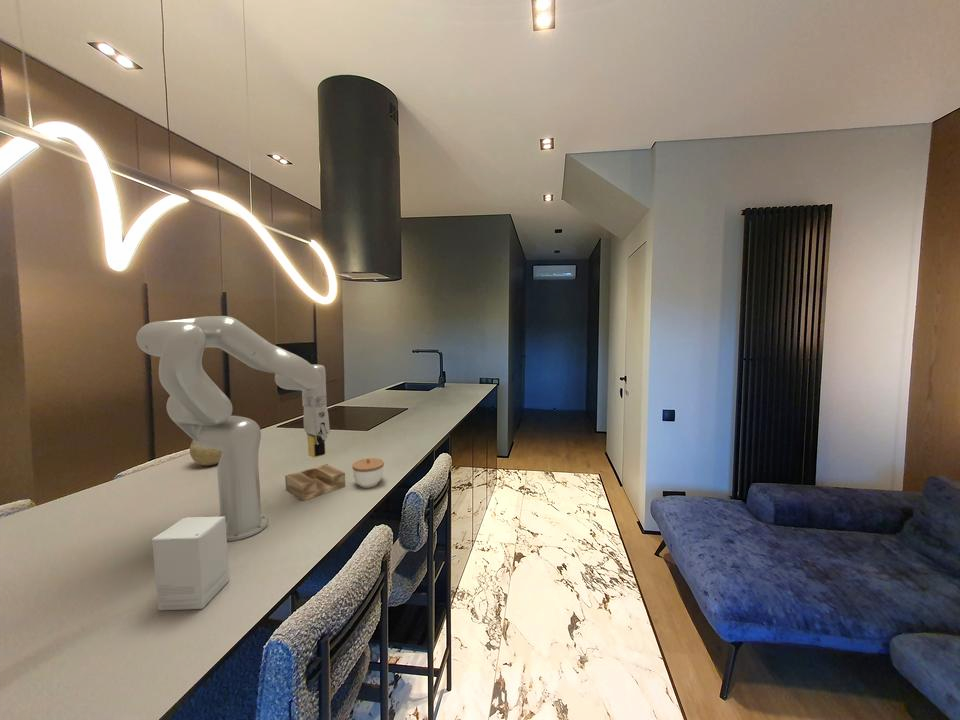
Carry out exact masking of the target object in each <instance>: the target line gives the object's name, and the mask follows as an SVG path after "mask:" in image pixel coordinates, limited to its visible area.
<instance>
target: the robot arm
mask: <svg viewBox="0 0 960 720" xmlns="http://www.w3.org/2000/svg"><path fill="white" fill-rule="evenodd" d="M135 338H136V339H135V341H136V343H137V346H138V348H139V349H140V350H142V351H143V352H144V353H145V354H147V355H149V356H152V357H159V363H158V364H159V365H158V378H159V379H158V380H159V382H160V384H161V386H162V387H163V389H164V390H165V391H166V393H168V395H169V397H168V399H167V402H166V412H167V414H168V416H169V418H170V420H171V421H172V422H173V423H175V424H176V426H177V427H179V428H180V429H181V430H182V431H183V432H184V433H185V434H187V436H189V437H190V438H191V439H192V441H193V440H194V441H196V442H197V443H198V444H200V445H201V446H203V447H206V448H210V449H216V450H220V451H222V455H221V458H220V461H219V462H218V463H217V472H216V473H217V485H218V487H217V489H218V501H219V515H218V516H216V517H223V516H225V523H226V538H227V542H231V541H239V540H242V539H246V538H249V537H252V536H254V535H256V534H259V532H262V531H263V530H264V529H265V528H266V527H267V526H268V523H269V521H268V520H269V519H268V517H267V516H266V515H264V514H262V503H261V502H262V501H261V488H260V485H261V484H260V467H259V450H260V444H261V438H262V431H261V427H260V425H259V424H258V423H257V421H255V420H253V419H251V418H249V417H246V416H245V417H244V416H241V415H232V413H233V404H232V402H231V399H230V398H229V397H228V396H227V395H226V394H225V392H224V391H222V390H221V388H219V386H218V385H217V384H216V383H215V382H214V381H213V380H212V378H210V376H208V374H207V372H206V371H205V370H204V367H203V363H202V362H203V361H202V360H203V354H204V351H205V349H206V348H209V349H210V348H214V349H215V348H218V349H220V350H222V351H224V352H225V353H227V354H228V355H230V356H231V357H233V358H236V359H237V360H238V361H240V362H241V363H243V364H245V365H246V366H248V367H250V368H251V369H255V370H257V371H261V372H265V373H269V374H270V373H271V374H274V382H275V384H276V385H277V386H278V387H279V388H280V389H283V390H287V391H289V390H290V391H301V399H302V400H301V401H302V407H303V430H304V432H305V433H306V435H307V437H308V435H314V436H315V442H316V444H315V456H319V457H321V456H320V455H323V456H325V455H326V440H327V438H328V434H330V432H331V429H330V419H329V411H328V406H327V402H328V401H327V400H328V399H327V380H326V379H327V376H326V374H327V373H326V368H325V365H323V364H311V363H310V362H309V361H308V360H306V359H304V358H303V357H301V356H299V355H297V354H295V353H292V352H291V351H288V350H286V349H284V348H282V347H280V346H277V345H275V344H272V343H271V342H269V341H268V340H266V339H265V338H264V337H262V336H261V335H260V334H258V332H255V331H254V330H253V329H251V328H250V327H248V326H247V325H246V324H245V323H243V322H241V321H240V320H238V319H237V318H234V317H233V316H228V315H227V316H226V315H218V316H217V315H213V316H212V315H211V316H210V315H207V316H198V317H191V318H190V317H189V318H180V319H172V320H160V321H153V322H148V323H147V324H145V325H143V326H141V328H139V330H138V331H137V333H136V337H135ZM318 433H321V434H318ZM320 436H321V437H320ZM318 437H320V438H319V439H318ZM324 454H325V455H324Z"/></svg>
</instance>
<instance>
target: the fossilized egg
mask: <svg viewBox="0 0 960 720" xmlns="http://www.w3.org/2000/svg"><path fill="white" fill-rule="evenodd" d="M189 454H190V457H191V459H192V460H193V462H195V463H196V464H198V465H201V466H206V467H207V466H209V467H210V466H214V465H217V464H219V461H220V458H221V455H222V451H220V450H216V449H210V448H206V447H203V446H201V445H200V444H198V443H197V442H196V441H194V440H193V439H192V440H191V443H190V446H189Z"/></svg>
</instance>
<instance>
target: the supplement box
mask: <svg viewBox="0 0 960 720" xmlns="http://www.w3.org/2000/svg"><path fill="white" fill-rule="evenodd" d="M151 544H152V554H153V565H154V575H155V590H156V599H157V611H176V610H177V611H178V610H181V611H182V610H202V609H204V608H205V607H206V606H207V605H208V603H210V602H211V601H212V600H213V598H215V596H216V595H217V594H218V593H219V592H220V591H222V589H223V588H224V587H225V585H227V584H228V582H229V581H230V571H229V570H230V569H229V556H228V541H227V538H226V523H225V516H223V517H217V516H201V517H200V516H199V517H198V516H195V517H194V516H193V517H191V516H190V517H188V516H187V517H183V518H181V519H180V520H178V521H177V522H176V523H174V524H173V525H171V526H170V527H168V528H166V529H165V530H164V531H162V532H161V533H159V534H157V535H156V536H154V537H153V538H152V539H151Z"/></svg>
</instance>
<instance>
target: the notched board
mask: <svg viewBox="0 0 960 720" xmlns="http://www.w3.org/2000/svg"><path fill="white" fill-rule="evenodd" d="M284 479H285V491H286V492H289V494H291V495H292V496H294V497H295V498H297V499H298V500H300V501H301V502H305V501H307V500H310V499H312V498H317V497H318V496H321V495H324V494H327V493H330V492H333V491H337V490H339V489H340V490H341V489H342V488H345V487H346V472H344V471H342V470H341V469H339V468H336V467H334V466H333V465H331V464H328V463H325V464H323V465H319V466H314V467H312V468H308V469H305V470H301V471H298V472H294V473H291V474H290V473H289V474H287V475H284Z"/></svg>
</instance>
